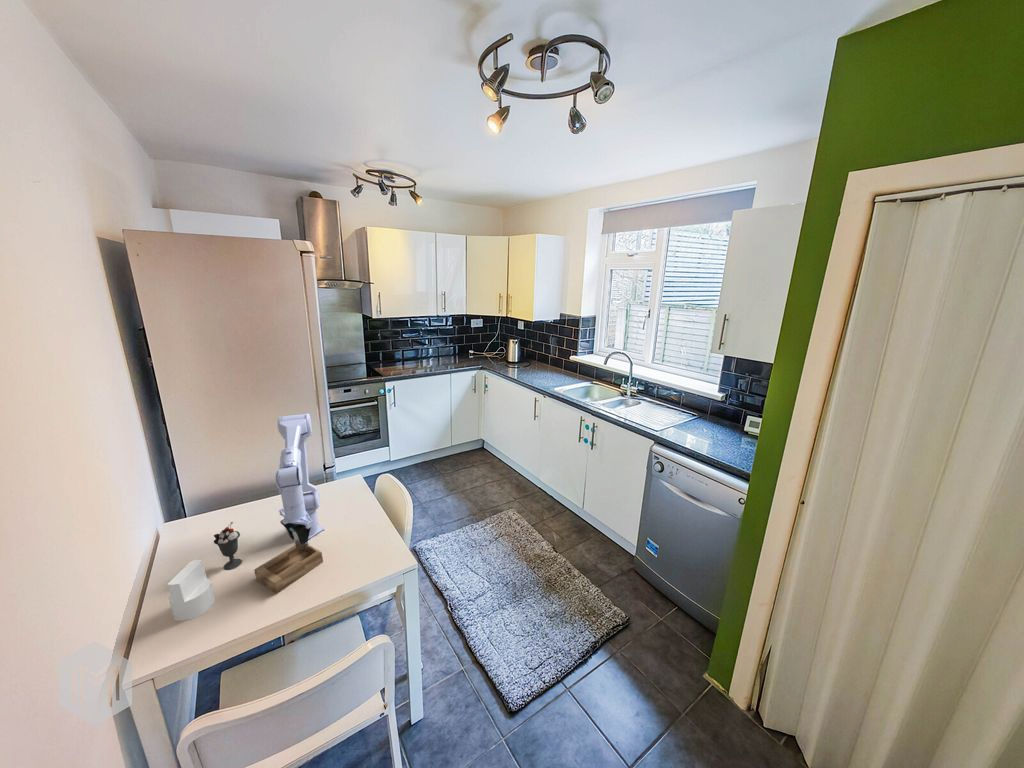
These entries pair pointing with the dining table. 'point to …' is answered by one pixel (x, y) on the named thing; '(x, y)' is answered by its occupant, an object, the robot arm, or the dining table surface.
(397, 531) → the dining table surface
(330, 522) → the dining table surface
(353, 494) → the dining table surface
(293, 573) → the keyhole board
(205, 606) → the base with upright slab
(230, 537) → the sundae
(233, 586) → the dining table surface
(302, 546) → the peg
